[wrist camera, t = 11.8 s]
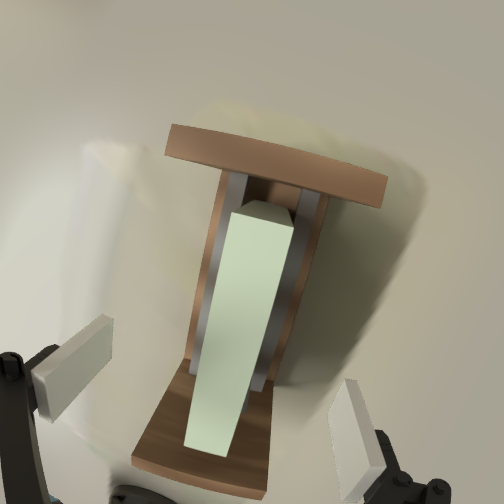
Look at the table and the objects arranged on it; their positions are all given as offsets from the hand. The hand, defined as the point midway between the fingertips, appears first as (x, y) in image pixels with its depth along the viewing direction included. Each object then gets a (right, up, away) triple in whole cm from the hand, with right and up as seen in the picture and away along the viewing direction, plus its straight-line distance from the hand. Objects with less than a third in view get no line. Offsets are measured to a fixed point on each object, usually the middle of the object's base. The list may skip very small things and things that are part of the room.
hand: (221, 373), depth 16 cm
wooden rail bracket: (+2, +3, +15) cm, 16 cm away
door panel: (+1, +3, +14) cm, 15 cm away
